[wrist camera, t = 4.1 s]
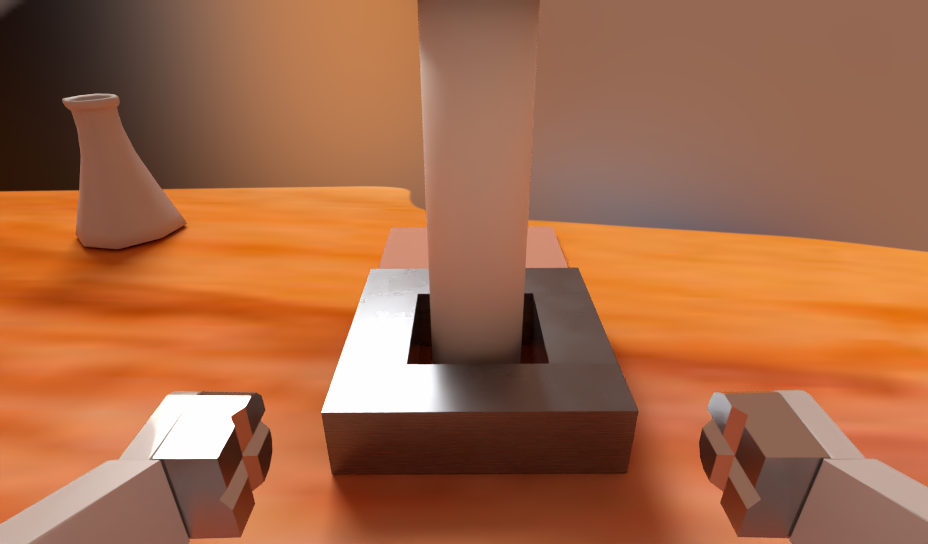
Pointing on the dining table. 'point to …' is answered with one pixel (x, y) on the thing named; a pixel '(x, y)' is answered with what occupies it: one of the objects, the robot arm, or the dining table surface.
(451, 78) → the peg
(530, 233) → the pad
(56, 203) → the dining table surface
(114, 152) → the flask
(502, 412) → the eye block
